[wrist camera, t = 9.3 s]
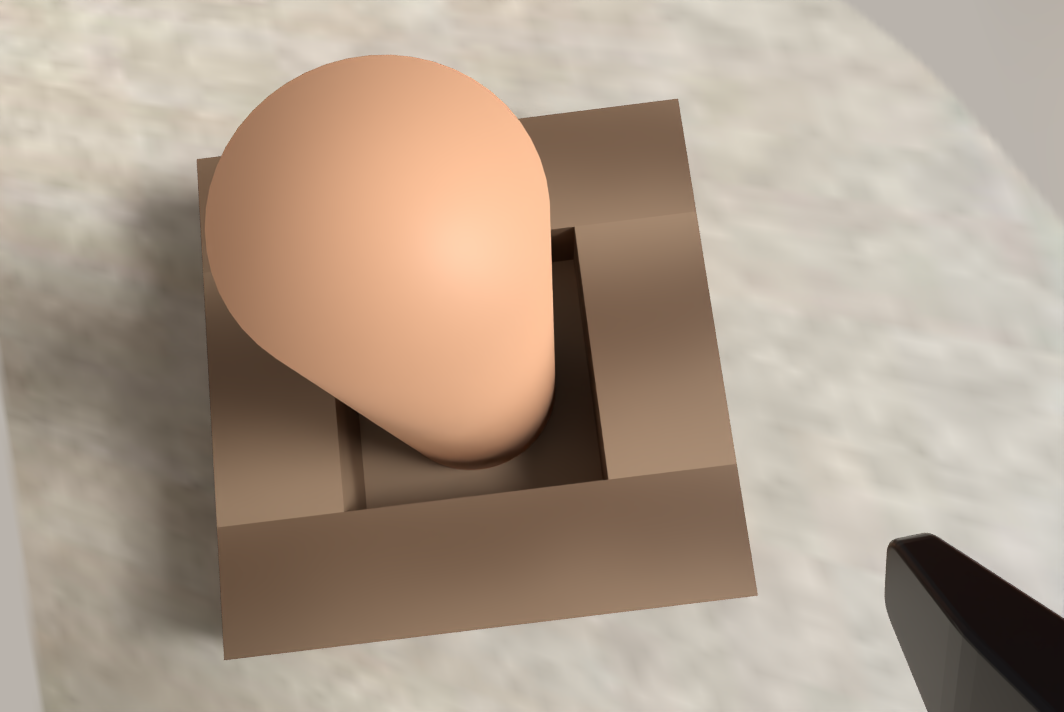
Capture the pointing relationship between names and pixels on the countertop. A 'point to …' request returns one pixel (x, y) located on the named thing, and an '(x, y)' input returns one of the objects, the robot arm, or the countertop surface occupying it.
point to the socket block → (525, 481)
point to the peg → (395, 252)
